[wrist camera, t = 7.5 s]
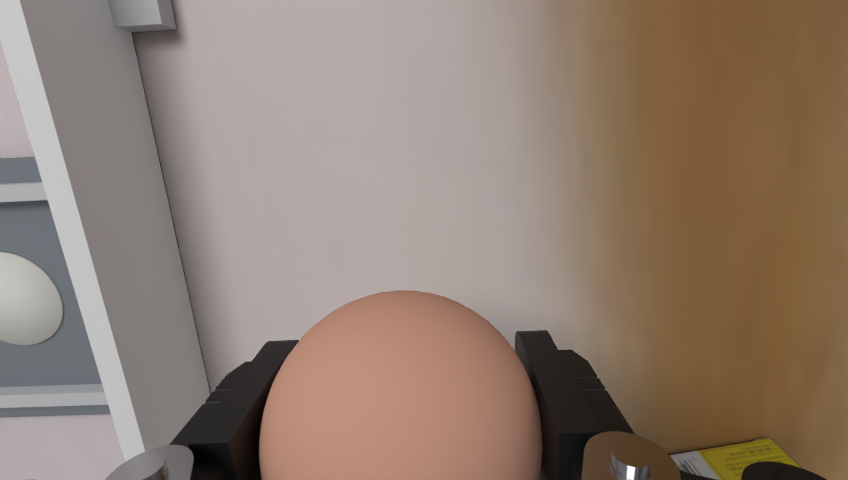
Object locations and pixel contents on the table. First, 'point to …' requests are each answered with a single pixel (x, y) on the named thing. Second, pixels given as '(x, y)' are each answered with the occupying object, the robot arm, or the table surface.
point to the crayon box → (731, 459)
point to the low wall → (110, 203)
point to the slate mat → (39, 309)
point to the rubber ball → (401, 398)
